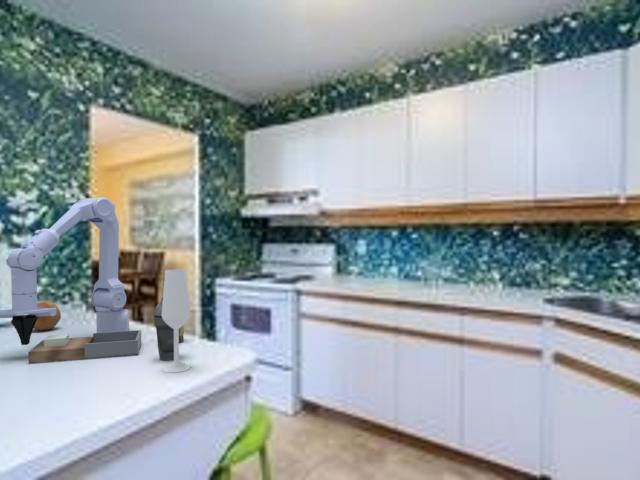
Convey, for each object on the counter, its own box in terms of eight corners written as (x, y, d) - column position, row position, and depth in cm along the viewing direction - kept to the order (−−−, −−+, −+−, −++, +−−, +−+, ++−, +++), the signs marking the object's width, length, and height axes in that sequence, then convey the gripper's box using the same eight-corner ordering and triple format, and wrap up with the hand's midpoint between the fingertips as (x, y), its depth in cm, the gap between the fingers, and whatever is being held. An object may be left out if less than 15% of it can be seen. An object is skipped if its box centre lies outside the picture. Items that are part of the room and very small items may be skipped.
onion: (29, 328, 163) (28, 300, 163) (62, 326, 167) (61, 298, 167) (25, 334, 154) (24, 303, 154) (59, 331, 158) (59, 301, 158)
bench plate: (93, 346, 137) (93, 336, 137) (84, 359, 123) (84, 347, 123) (43, 350, 133) (43, 339, 133) (28, 363, 120) (28, 352, 120)
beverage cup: (174, 362, 120) (173, 284, 119) (148, 361, 121) (147, 284, 121) (187, 355, 127) (187, 281, 126) (163, 354, 128) (162, 281, 128)
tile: (69, 341, 131) (69, 334, 131) (65, 345, 126) (65, 338, 126) (49, 342, 129) (48, 335, 129) (44, 347, 125) (44, 339, 125)
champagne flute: (161, 366, 117) (160, 269, 116) (189, 363, 119) (188, 268, 119) (162, 373, 111) (161, 271, 110) (192, 370, 113) (190, 270, 112)
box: (141, 343, 141) (141, 330, 141) (137, 355, 127) (137, 340, 127) (93, 346, 137) (93, 333, 137) (84, 359, 123) (84, 344, 123)
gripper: (-13, 296, 119) (-12, 349, 120) (51, 293, 124) (52, 345, 124) (-3, 293, 126) (-2, 343, 126) (57, 290, 130) (58, 339, 131)
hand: (25, 344), depth 125 cm, fingers closed
